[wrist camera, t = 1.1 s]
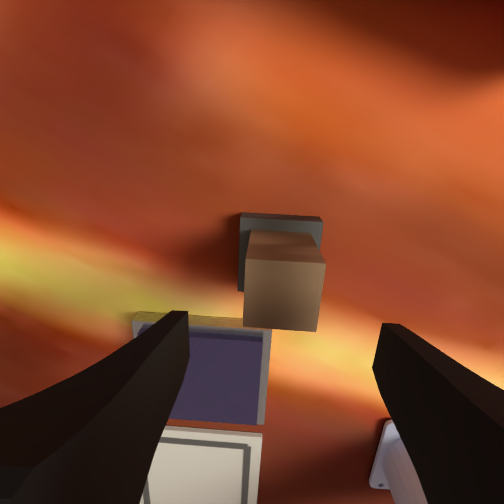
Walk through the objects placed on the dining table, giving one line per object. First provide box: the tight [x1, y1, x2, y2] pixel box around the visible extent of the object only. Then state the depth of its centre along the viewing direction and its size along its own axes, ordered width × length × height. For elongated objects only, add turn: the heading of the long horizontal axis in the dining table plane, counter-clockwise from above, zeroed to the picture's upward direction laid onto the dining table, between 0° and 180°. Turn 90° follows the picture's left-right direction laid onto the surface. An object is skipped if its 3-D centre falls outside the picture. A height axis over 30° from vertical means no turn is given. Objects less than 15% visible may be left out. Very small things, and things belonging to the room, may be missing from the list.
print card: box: [140, 426, 262, 504], centre depth 27 cm, size 12×12×1 cm
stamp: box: [238, 212, 326, 332], centre depth 17 cm, size 5×5×6 cm
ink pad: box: [132, 312, 272, 425], centre depth 22 cm, size 10×9×2 cm
